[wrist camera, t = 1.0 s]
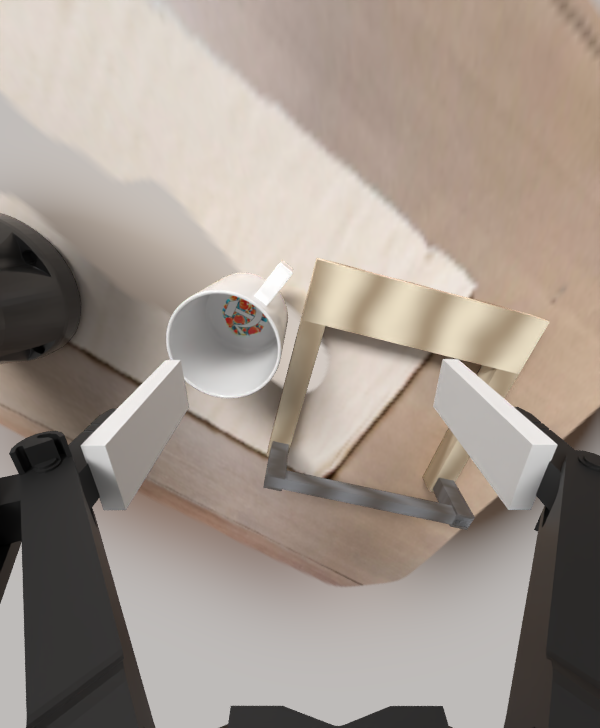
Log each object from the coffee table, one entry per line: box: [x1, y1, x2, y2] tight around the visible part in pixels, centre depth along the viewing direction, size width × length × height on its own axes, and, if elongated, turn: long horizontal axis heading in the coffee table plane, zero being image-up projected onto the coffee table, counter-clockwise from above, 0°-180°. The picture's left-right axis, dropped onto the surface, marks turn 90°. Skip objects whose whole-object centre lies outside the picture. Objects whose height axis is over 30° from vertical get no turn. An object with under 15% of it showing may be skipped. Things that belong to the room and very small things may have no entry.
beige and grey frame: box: [263, 258, 550, 530], centre depth 34 cm, size 24×24×8 cm
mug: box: [166, 259, 293, 398], centre depth 29 cm, size 12×9×11 cm
